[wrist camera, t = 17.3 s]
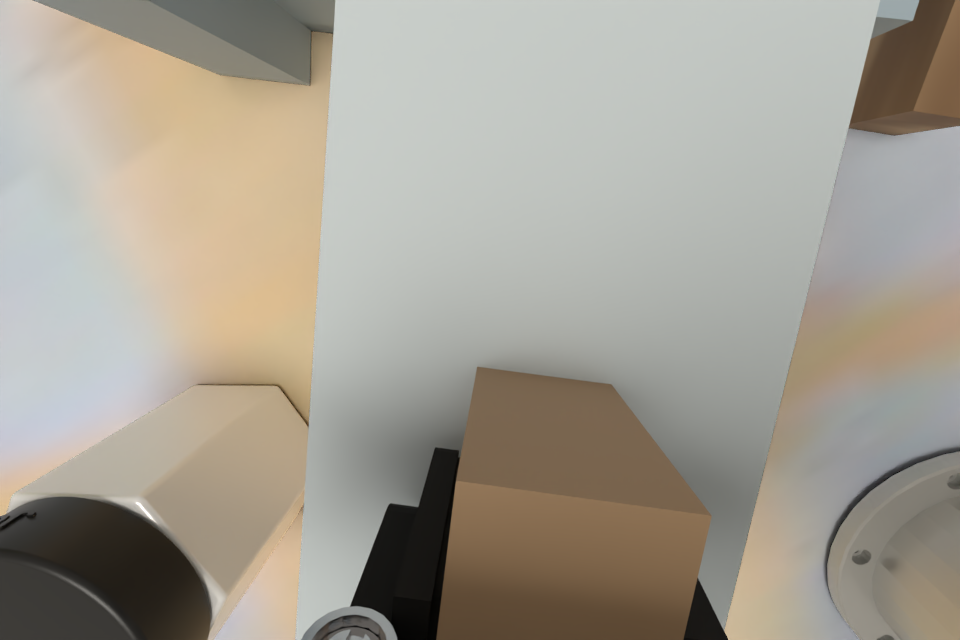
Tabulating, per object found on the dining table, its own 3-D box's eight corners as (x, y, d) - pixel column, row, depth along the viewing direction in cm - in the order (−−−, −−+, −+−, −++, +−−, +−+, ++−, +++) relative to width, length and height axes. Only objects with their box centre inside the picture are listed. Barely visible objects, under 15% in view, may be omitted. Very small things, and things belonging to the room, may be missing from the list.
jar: (206, 346, 24) (-85, 490, 12) (349, 421, 24) (199, 627, 13) (154, 478, 26) (-132, 703, 15) (285, 543, 27) (110, 810, 15)
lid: (648, 824, 14) (765, 1288, 8) (302, 771, 14) (149, 1181, 8) (839, 10, 10) (1374, -353, 4) (359, -44, 10) (148, -467, 4)
